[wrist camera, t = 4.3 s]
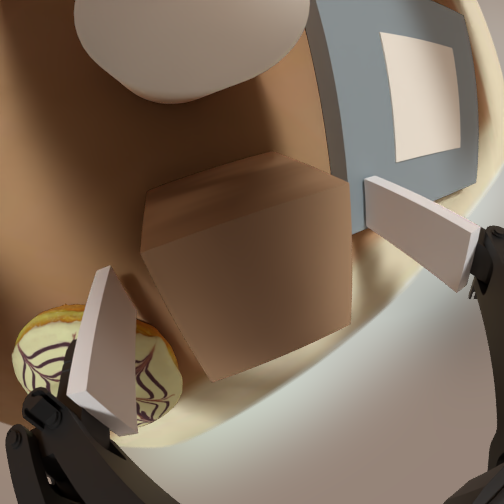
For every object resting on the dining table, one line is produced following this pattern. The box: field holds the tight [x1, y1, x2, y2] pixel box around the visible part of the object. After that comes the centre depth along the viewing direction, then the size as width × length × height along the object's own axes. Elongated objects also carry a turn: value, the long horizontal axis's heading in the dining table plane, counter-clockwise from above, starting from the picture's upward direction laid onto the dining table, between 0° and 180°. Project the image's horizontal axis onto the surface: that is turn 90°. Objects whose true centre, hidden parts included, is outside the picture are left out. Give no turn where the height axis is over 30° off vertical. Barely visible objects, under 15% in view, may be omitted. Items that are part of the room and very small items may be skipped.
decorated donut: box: [12, 304, 183, 431], centre depth 13 cm, size 10×11×4 cm
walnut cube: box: [140, 151, 352, 382], centre depth 11 cm, size 6×6×6 cm
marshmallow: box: [74, 0, 310, 104], centre depth 6 cm, size 6×6×6 cm
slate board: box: [305, 0, 479, 234], centre depth 12 cm, size 14×14×2 cm
